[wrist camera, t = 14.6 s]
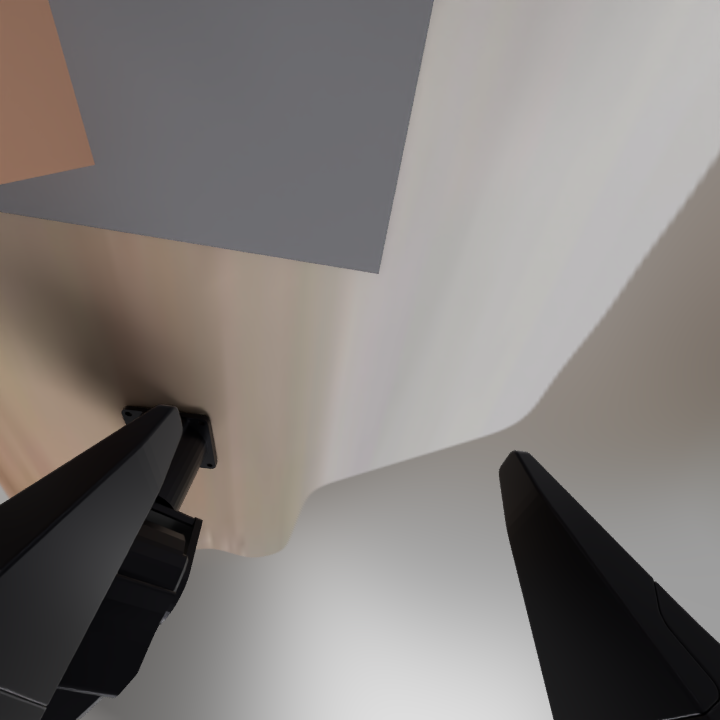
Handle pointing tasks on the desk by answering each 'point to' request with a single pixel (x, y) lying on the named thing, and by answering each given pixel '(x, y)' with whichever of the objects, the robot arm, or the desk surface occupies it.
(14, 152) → the cube
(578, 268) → the desk surface
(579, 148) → the desk surface
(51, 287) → the desk surface
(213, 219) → the mat
